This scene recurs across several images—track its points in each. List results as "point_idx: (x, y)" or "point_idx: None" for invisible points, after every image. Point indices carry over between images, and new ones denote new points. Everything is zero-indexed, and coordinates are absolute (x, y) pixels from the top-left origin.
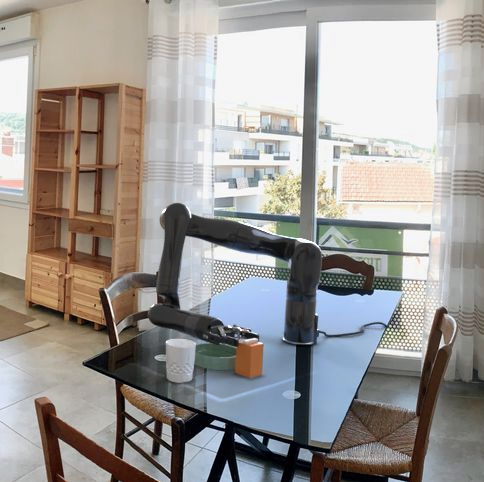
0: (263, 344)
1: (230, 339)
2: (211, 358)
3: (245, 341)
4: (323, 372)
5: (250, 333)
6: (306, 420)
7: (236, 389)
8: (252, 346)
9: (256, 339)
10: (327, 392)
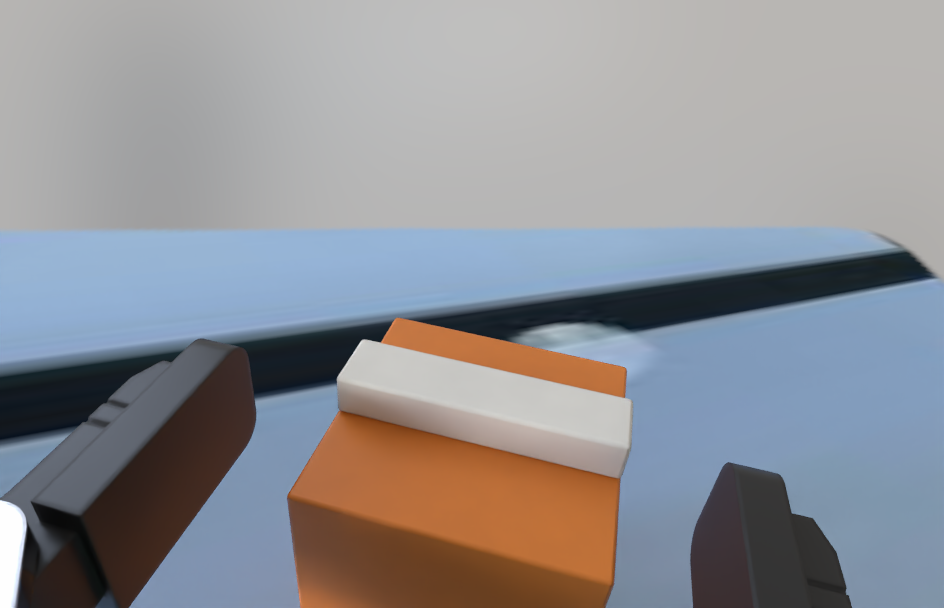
0: (401, 326)
1: (827, 600)
2: None
3: (630, 406)
4: (73, 315)
5: (154, 451)
6: (788, 271)
7: None
8: (606, 367)
9: (394, 348)
10: (422, 267)
